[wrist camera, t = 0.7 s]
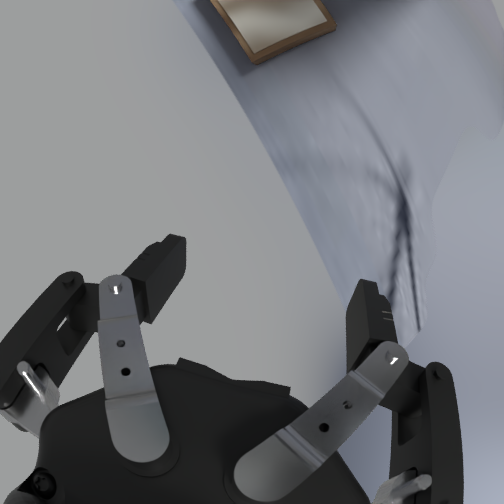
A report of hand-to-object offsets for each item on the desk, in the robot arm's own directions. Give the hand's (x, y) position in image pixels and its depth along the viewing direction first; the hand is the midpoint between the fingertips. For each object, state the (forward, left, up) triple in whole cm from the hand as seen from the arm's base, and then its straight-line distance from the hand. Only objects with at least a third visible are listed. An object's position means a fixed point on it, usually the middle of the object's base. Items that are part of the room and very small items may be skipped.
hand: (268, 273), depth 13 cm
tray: (-18, -11, -27) cm, 34 cm away
